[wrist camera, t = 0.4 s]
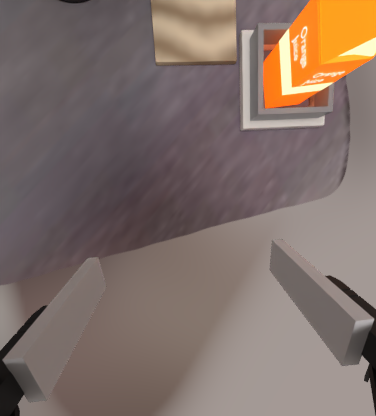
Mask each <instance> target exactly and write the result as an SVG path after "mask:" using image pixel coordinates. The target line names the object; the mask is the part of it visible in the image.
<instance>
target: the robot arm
mask: <svg viewBox="0 0 376 416" xmlns="http://www.w3.org/2000/svg"><path fill="white" fill-rule="evenodd" d="M62 1H66V2H82V1H86V0H62ZM270 271H271V272H272V274H273V275H274V277H275V278H276V279H277V281H278V282H279V283H280V285H281V286H282V287H283V289H284V290H285V291H286V292H287V293H288V295H289V296H290V298H291V299H292V300H293V302H294V303H295V304H296V306H297V307H298V308H299V310H300V311H301V312H302V314H303V315H304V316H305V318H306V319H307V320H308V322H310V324H311V326H312V327H313V328H314V330H315V331H316V332H317V334H318V335H319V336H320V338H321V339H322V340H323V341H324V343H325V344H326V345H327V347H328V348H329V349H330V351H331V352H332V353H333V355H334V356H335V357H336V359H337V360H338V361H339V363H340V364H341V365H342V366H348V365H356V364H359V361H360V359H361V356H362V355H363V357H364V358H365V359H366V360H367V361H368V362H369V363H370V364H369V366H368V369H367V372H366V374H365V378H364V381H366V382H368V380H369V378H370V383H371V388H372V395H373V401H374V408H375V415H376V309H375V308H373V307H372V306H371V305H370V304H369V303H367V302H366V301H365V300H364V299H362V298H361V297H360V296H358V295H357V294H356V293H355V292H354V291H353V290H350V288H349V287H347V286H346V285H345V284H344V283H343V282H341V281H340V280H338V279H336V278H334V277H332V276H324V275H323V274H322V273H321V272H320V271H318V270H317V269H316V268H315V267H314V266H312V265H311V264H310V263H309V262H308V261H307V260H306V259H305V258H303V257H302V256H301V255H300V254H299V253H298V252H296V251H295V250H294V249H293V248H292V247H291V246H289V245H288V244H287V243H286V242H285V241H283V239H277V240H272V247H271V259H270ZM105 289H106V283H105V280H104V276H103V272H102V269H101V265H100V262H99V258H98V257H94V258H87V260H86V261H85V262H84V263H83V264H82V266H81V267H80V268H79V269H78V270H77V272H76V273H75V274H74V275H73V276H72V277H71V279H70V280H69V281H68V282H67V283H66V285H65V286H64V287H63V288H62V290H61V291H60V292H59V293H58V294H57V295H56V297H55V298H54V299H53V300H52V301H51V303H50V304H49V305H47V306H43V307H41V308H40V309H39V310H38V311H36V312H35V313H34V314H33V315H32V316H31V317H30V318H29V319H28V320H27V321H26V323H25V324H24V326H22V327H21V328H20V329H19V330H18V332H17V334H15V335H14V336H13V337H12V338H11V339H10V341H9V342H8V343H7V344H6V345H5V346H4V347H3V349H2V350H1V351H0V416H20V410H19V407H18V405H17V404H18V403H19V401H20V400H21V398H22V396H23V395H25V397H26V398H27V400H28V402H37V401H46V400H47V399H48V398H49V395H50V394H51V392H52V390H53V388H54V386H55V384H56V382H57V380H58V379H59V377H60V375H61V373H62V371H63V369H64V367H65V365H66V363H67V361H68V359H69V357H70V356H71V354H72V352H73V350H74V348H75V346H76V344H77V342H78V340H79V338H80V336H81V335H82V333H83V331H84V329H85V327H86V325H87V323H88V321H89V319H90V318H91V316H92V314H93V312H94V310H95V308H96V306H97V304H98V302H99V300H100V298H101V296H102V295H103V293H104V291H105Z"/></svg>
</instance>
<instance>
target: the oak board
mask: <svg viewBox="0 0 376 416" xmlns="http://www.w3.org/2000/svg"><path fill="white" fill-rule="evenodd" d="M151 9H152V21H153V33H154V46H155V58H156V65H215V64H235V63H236V61H237V59H236V0H151Z"/></svg>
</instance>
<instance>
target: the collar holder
mask: <svg viewBox="0 0 376 416" xmlns="http://www.w3.org/2000/svg"><path fill="white" fill-rule="evenodd" d="M292 24H293V23H258V24H257V26H256V28H255V30H242V31H241V33H240V36H239V61H240V131H246V130H269V129H291V128H314V127H321V126H323V125H324V118H325V115H326V114H328V113H331V112H333V96H334V83H332V84H331V85H329V86H327V87H326V88H324V89H322V90H320V91H319V92H317V93H315V94H314V95H312V96H311V97H309V107H297V108H268V109H263V55H264V50H273V49H274V48H275V46H276V45H277V44H278V42H279V41H280V39H281V38H282V37H283V35H284V34H285V33H286V31H287V30H288V29H289V28H290V27H291V25H292Z"/></svg>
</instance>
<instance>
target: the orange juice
mask: <svg viewBox="0 0 376 416" xmlns="http://www.w3.org/2000/svg"><path fill="white" fill-rule="evenodd" d="M375 55H376V0H310V1H309V3H308V4H307V5H306V7H305V8H304V9H303V11H302V12H301V13H300V15H299V16H298V17H297V19H296V20H295V21H294V23H293V24H292V25H291V27H290V28H289V29H288V30H287V31H286V33H285V34H284V35H283V37H282V38H281V39H280V41H279V42H278V44H277V45H276V46H275V48H274V49H273V50H272V52H271V53H270V54H269V56H268V57H267V58H266V60H265V61H264V62H263V82H264V96H265V108H273V107H280V106H288V105H295V104H299V103H301V102H302V101H304V100H306V99H307V98H309V97H311V96H312V95H314V94H315V93H317V92H319V91H320V90H322V89H324V88H326V87H327V86H329V85H331V84H332V83H334V82H335V81H337V80H338V79H340V78H341V77H343V76H345V75H346V74H348V73H349V72H351V71H353V70H354V69H356V68H357V67H359V66H361V65H362V64H364V63H366V62H367V61H369V60H371V59H372V58H373V57H374V56H375Z"/></svg>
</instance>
